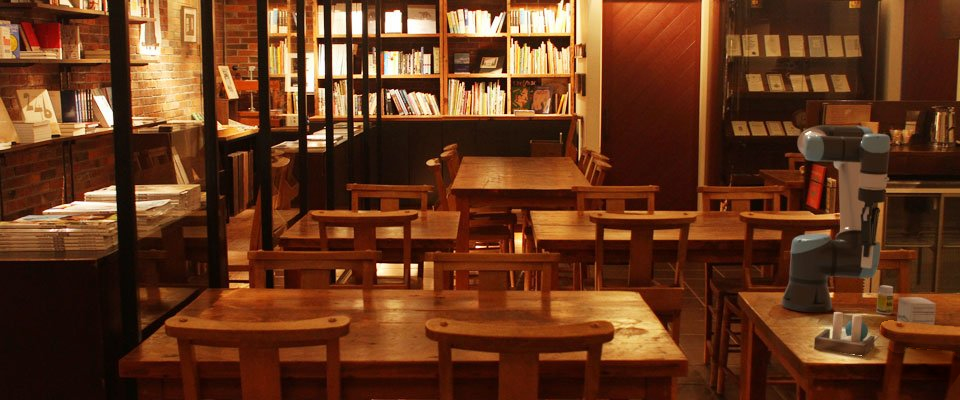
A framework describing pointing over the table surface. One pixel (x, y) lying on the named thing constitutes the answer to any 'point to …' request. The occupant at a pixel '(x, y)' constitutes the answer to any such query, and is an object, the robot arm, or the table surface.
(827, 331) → the tray
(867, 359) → the table surface
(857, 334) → the pin
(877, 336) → the beige square tile
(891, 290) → the supplement bottle
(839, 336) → the pin
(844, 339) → the pin front
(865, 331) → the ball
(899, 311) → the supplement box
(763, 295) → the table surface
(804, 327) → the table surface
